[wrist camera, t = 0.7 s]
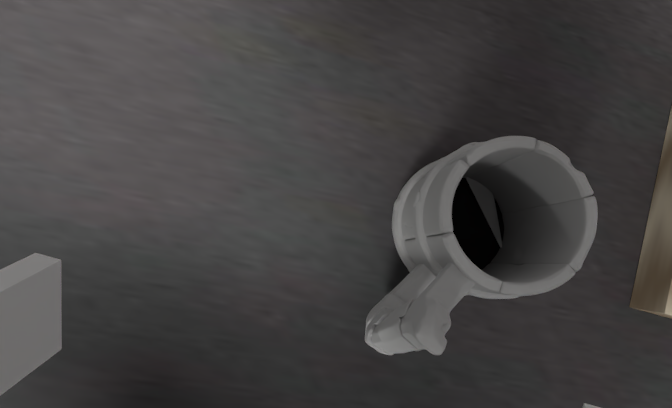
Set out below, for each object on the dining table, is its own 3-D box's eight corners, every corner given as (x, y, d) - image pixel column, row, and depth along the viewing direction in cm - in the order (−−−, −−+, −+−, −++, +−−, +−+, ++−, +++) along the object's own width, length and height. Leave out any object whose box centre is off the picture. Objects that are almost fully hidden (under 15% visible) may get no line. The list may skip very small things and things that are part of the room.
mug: (544, 221, 29) (697, 202, 17) (412, 375, 28) (479, 466, 16) (447, 135, 30) (531, 58, 18) (313, 284, 29) (307, 308, 17)
